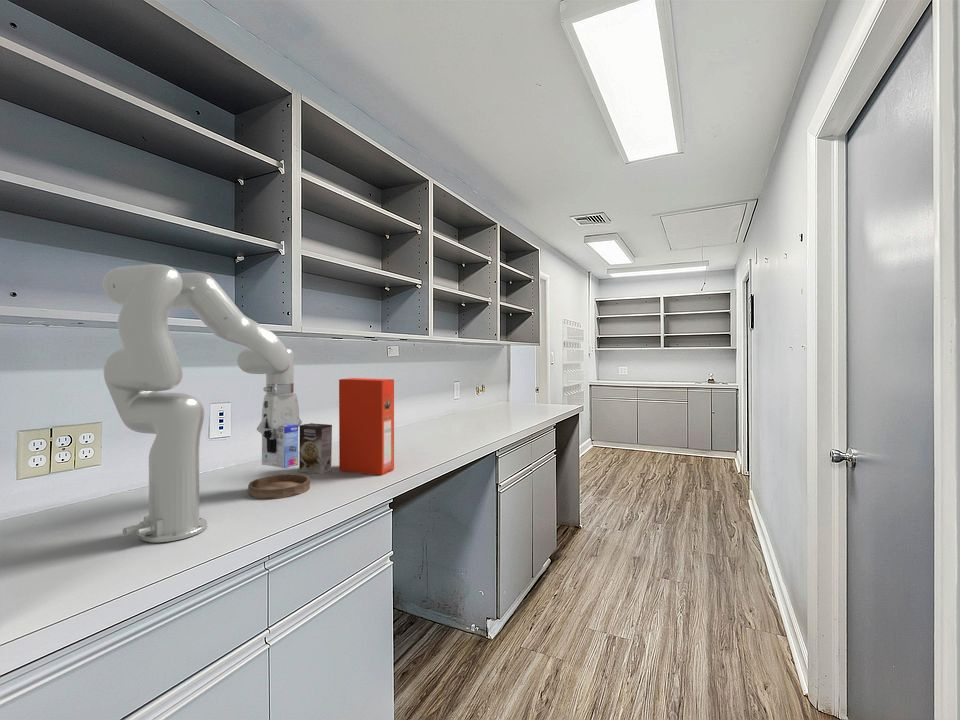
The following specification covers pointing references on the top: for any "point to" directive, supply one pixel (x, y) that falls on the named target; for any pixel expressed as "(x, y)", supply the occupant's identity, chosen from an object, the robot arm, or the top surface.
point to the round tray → (279, 486)
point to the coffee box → (315, 448)
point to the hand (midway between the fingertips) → (280, 449)
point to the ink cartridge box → (282, 447)
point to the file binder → (366, 425)
